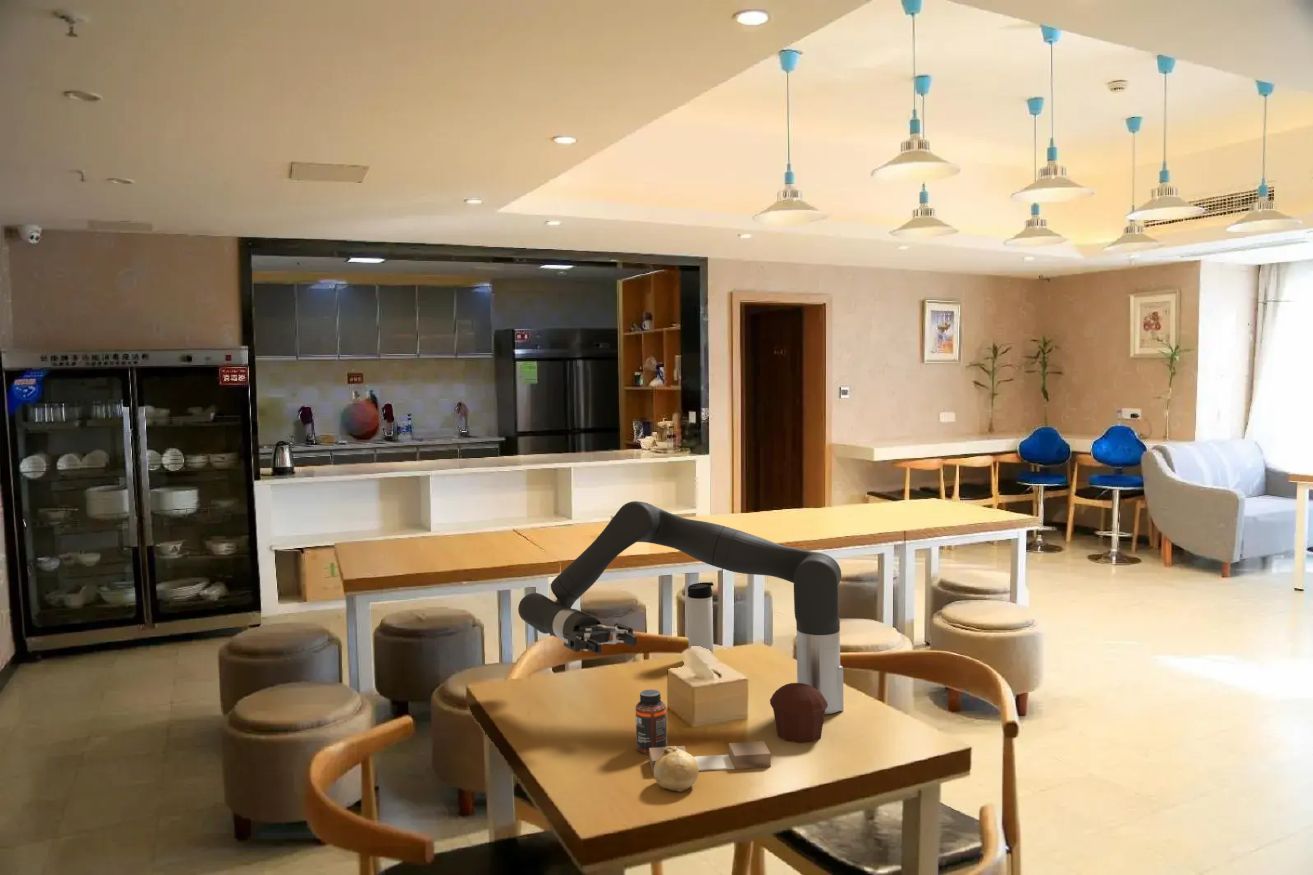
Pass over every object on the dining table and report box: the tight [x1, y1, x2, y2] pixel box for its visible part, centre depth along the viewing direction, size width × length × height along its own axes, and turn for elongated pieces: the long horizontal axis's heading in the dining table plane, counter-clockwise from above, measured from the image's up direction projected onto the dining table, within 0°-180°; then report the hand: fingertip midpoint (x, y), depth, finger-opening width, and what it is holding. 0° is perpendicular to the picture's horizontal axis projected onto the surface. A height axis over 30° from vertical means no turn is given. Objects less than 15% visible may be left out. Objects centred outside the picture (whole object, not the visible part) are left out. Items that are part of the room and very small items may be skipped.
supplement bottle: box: [635, 688, 668, 755], centre depth 182 cm, size 6×6×11 cm
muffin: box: [769, 682, 828, 744], centre depth 188 cm, size 12×11×10 cm
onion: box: [653, 745, 700, 793], centre depth 166 cm, size 8×8×7 cm
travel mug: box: [687, 581, 714, 654], centre depth 239 cm, size 6×7×20 cm
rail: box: [648, 740, 772, 775], centre depth 175 cm, size 22×6×2 cm, turn 96°
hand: (617, 645), depth 191 cm, fingers open, 8 cm apart
